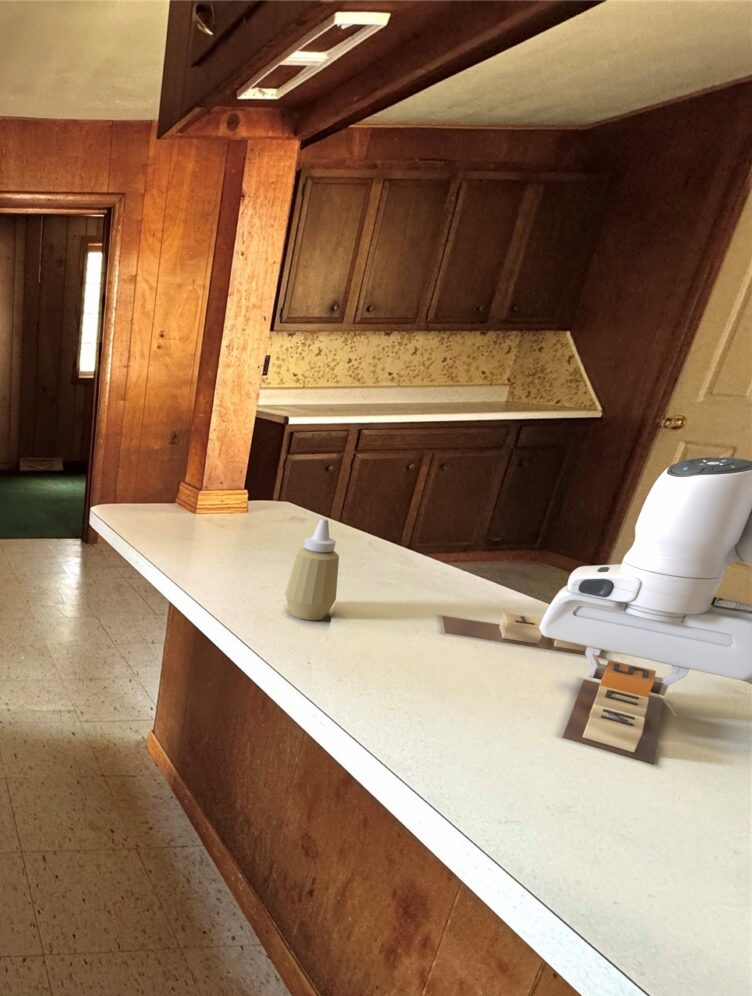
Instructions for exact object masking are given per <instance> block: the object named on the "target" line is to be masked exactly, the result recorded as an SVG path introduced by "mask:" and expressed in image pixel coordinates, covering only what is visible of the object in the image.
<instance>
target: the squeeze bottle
mask: <svg viewBox="0 0 752 996" xmlns="http://www.w3.org/2000/svg"><path fill="white" fill-rule="evenodd" d="M336 542H337V541H336V540H335V539H334V538H332V537H330V527H329V518H324V517H323V518H320V519H319V522H318V524H317V526H316V529H315V531H314V533H313V535H310V536H307V537H305V540H304V544H303V548H301V549H298V551H297V553H296V555H295V560H294V563H293V566H292V570H291V573H290V576H289V581H288V584H287V587H286V590H285V598H286V603H287V608H288V612H289V614H290V616H291V615H292V616H293V617H295V618H298V619H300V620H305V621H320V620H324V619H325V618H326V616H328V614H329V612H330V610H331V608H332V607H333V605H334V604H335V602H336V600H337V590H338V589H337V588H338V575H339V564H340V563H339V562H340V561H339V560H340V555H339V554H338V553H337V552H336V551H335V547H336Z"/></svg>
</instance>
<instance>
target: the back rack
mask: <svg viewBox="0 0 752 996" xmlns="http://www.w3.org/2000/svg"><path fill="white" fill-rule="evenodd" d="M442 622H443V628H444V629H443V630H444V634H447V635H448V634H449V635H453V636H459V637H467V638H473V639H478V640H479V639H480V640H485V641H486V640H487V641H492V642H498V643H504V644H511V645H516V646H523V647H529V648H535V649H541V650H548V651H554V652H561V653H566V654H571V655H572V654H573V655H577V656H578V655H580V656H585V657H587V656H586V654H585V652H586V649H587V646H585V645H580V644H576V643H571V642H567V641H563V640H558V639H554V638H549V637H545V636H544V635H543V634H542V633H541V631H540V629H539V627H540V624H541V622H542V620H541V618H540V617H536V616H529V615H523V614H517V613H510V612H503V614H502V617H501V620H500V623H499V624H498V623H491V622H485V621H479V620H472V619H467V618H458V617H451V616H445V615H442ZM597 657H598V659H603V660H604V659H605V660H607V657H606V655H605V653H604V652H603V649H601V652H600V654H599V655H598V656H597Z"/></svg>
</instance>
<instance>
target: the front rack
mask: <svg viewBox="0 0 752 996" xmlns="http://www.w3.org/2000/svg"><path fill="white" fill-rule="evenodd" d="M599 686H600V682H596V681H592V680H588V679H583V681H582V683H581V685H580V688H579V691H578V693H577V696H576V699H575V702H574V704H573V707H572V710H571V712H570V716H569V717H568V720H567V723H566V726H565V728H564V732H563V734H562V739H566V740H569V741H572V742H576V743H579V744H582V745H586V746H589V747H592V748H596V749H599V750H602V751H605V752H609V753H612V754H616V755H618V756H622V757H626V758H629V759H632V760H634V761H635V760H636V761H639V762H642V763H645V764H649V765H654V764H655V756H656V750H657V743H658V737H659V736H658V735H659V730H660V723H661V716H662V709H663V701H664V699H663V698H660V697H657V696H652V695H649V696H648V697H644V696H640V695H636V694H632V693H628V692H624V691H620V690H616V689H612V688H608V687H604V686H600V687H599Z"/></svg>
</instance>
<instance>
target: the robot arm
mask: <svg viewBox="0 0 752 996" xmlns="http://www.w3.org/2000/svg"><path fill="white" fill-rule="evenodd" d="M731 563H741V564H744V565H747V566H749V567H751V568H752V460H749V459H745V458H739V457H727V456H723V457H713V456H711V457H710V456H708V457H697V458H689V459H686V460H682V461H679V462H675V463H673V464H671V465H669V466H668V467H667V468H665V470H664V471H662V472H661V474H660V475H659V476H658V478H657V479H656V481H655V482H654V484H653V485H652V487H651V489H650V491H649V492H648V494H647V497H646V499H645V501H644V503H643V506H642V508H641V510H640V513H639V515H638V518H637V521H636V523H635V526H634V541H633V544H631V547H630V549H628V550H627V552H626V553H625V554H624V557H623V558H622V561H621V563H617V564H616V563H615V564H601V565H583V566H579V567H577V568H575V569H574V570H572V572H570V575H569V576H568V580H567V585H565V586H563V587H562V588H561V589H560V590H558V592H557V593H556V595H555V596H554V598H553V599H552V601H551V602H550V604H549V606H548V607H547V609H546V611H545V613H544V614H543V617H542V620H541V624H540V627H539V629H540V631H541V633H542V634H543V635H544V636H545V637H549V638H554V639H558V640H563V641H567V642H571V643H576V644H580V645H585V646H587V649H586V652H585V654H586V656H585V657H586V658H587V660H588V662H589V665H590V670H589V672H588V675H587V677H588V678H590V679H595V680H600V681H601V680H602V678H603V675H604V672H605V670H606V667H607V664H605V663H600V659H599V658H598V657H597V656H598V655H599V654H600V652H601V650H602V651H607V652H611V653H616V654H620V655H626V656H630V657H635V658H638V659H643V660H648V661H652V662H656V663H661V664H666V665H669V666H671V668H670V669H671V671H670V673H668V674H666V675H664V676H663V677H659V676H655V679H654V684H653V686H652V689H651V691H650V693H652V694H656V695H661V696H665V694H666V692H667V691H668V687H669V686H671V685H673V684H674V683H676V682H679V681H680V680H682V679H684V678H686V677H687V675H688V674H689V671H690V670H692V671H696V672H701V673H705V674H710V675H715V676H719V677H724V678H727V679H732V680H737V681H741V682H742V681H744V682H745V681H747V680H749V679H752V603H748V602H747V603H746V602H741V601H738V600H735V599H734V600H733V599H728V598H722V597H716V595H717V592H718V590H719V587H720V585H721V584H722V582H723V579H724V576H725V574H726V569H727V566H728V565H729V564H731Z"/></svg>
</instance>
